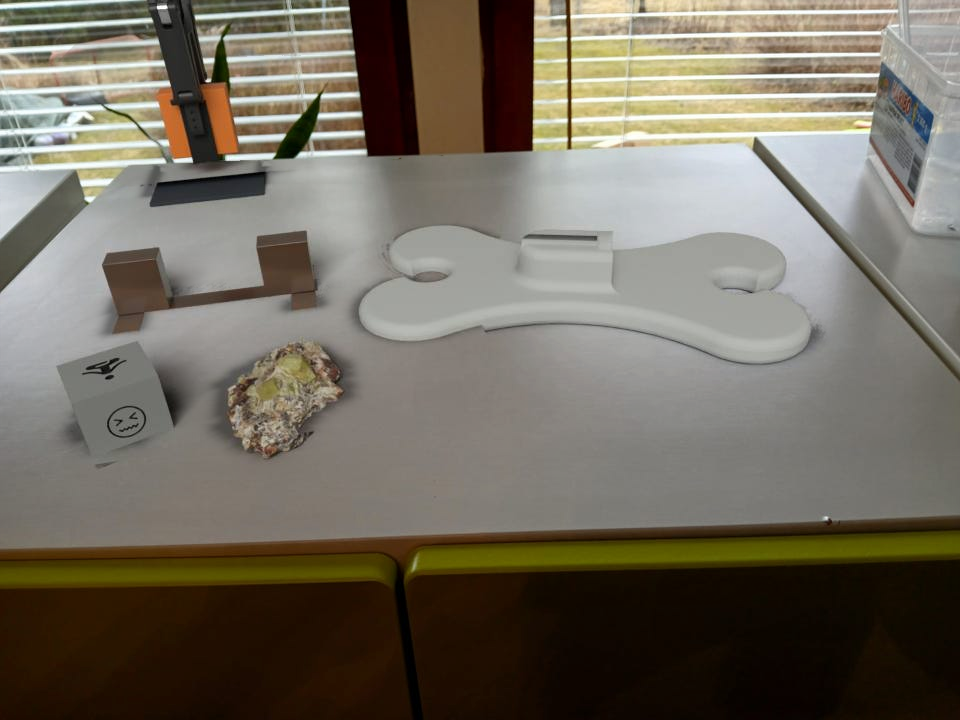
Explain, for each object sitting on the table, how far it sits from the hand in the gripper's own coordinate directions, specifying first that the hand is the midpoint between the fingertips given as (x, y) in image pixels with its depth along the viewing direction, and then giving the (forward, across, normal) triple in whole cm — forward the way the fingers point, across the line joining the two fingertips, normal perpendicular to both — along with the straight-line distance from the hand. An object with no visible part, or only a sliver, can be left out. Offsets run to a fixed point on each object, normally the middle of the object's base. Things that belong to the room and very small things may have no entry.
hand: (207, 156), depth 89 cm
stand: (+3, -31, -3) cm, 31 cm away
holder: (+3, -37, -32) cm, 49 cm away
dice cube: (+3, -47, +2) cm, 47 cm away
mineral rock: (+3, -47, -8) cm, 48 cm away
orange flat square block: (0, 0, 0) cm, 0 cm away
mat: (+3, 0, 0) cm, 3 cm away
